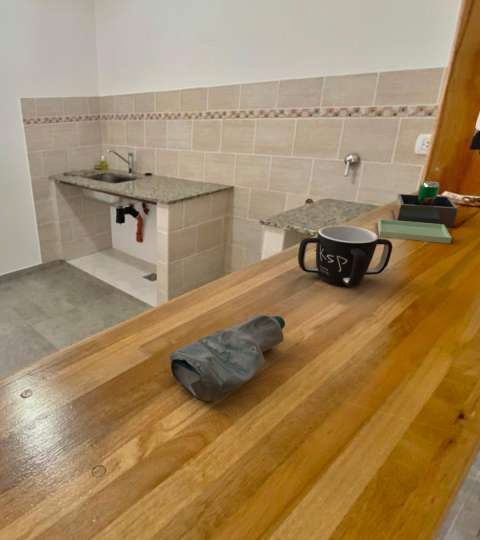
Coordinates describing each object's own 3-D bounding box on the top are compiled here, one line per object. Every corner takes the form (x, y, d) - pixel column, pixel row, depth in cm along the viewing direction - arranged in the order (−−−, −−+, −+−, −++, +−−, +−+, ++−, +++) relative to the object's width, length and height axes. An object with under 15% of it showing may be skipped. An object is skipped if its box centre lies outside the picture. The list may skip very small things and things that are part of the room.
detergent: (210, 420, 55) (314, 354, 67) (208, 379, 53) (316, 318, 64) (155, 377, 66) (253, 326, 77) (151, 342, 63) (253, 295, 75)
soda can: (415, 219, 128) (425, 184, 123) (409, 215, 133) (418, 180, 128) (433, 220, 127) (443, 184, 122) (425, 215, 132) (435, 180, 127)
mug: (287, 275, 97) (293, 230, 92) (329, 261, 103) (337, 218, 98) (348, 302, 83) (359, 251, 78) (392, 283, 90) (405, 235, 85)
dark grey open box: (443, 214, 133) (449, 196, 130) (451, 228, 121) (458, 208, 118) (393, 211, 140) (397, 193, 137) (396, 223, 128) (401, 204, 125)
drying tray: (442, 229, 120) (444, 224, 119) (450, 243, 109) (451, 237, 109) (377, 224, 128) (379, 219, 127) (379, 236, 117) (380, 231, 117)
